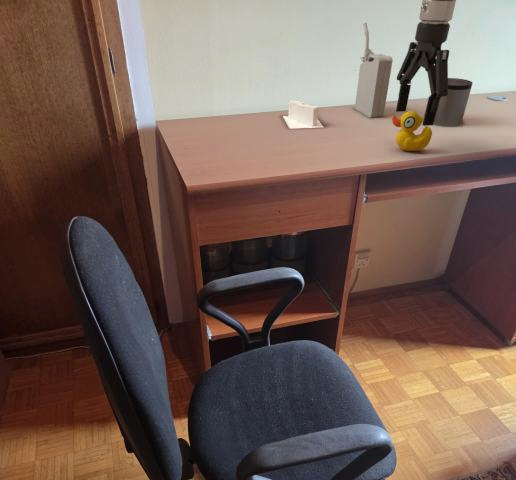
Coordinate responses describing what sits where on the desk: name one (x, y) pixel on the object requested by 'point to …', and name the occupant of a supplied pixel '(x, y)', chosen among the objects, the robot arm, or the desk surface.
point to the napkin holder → (302, 116)
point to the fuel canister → (373, 82)
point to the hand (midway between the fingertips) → (413, 118)
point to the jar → (453, 103)
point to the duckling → (411, 132)
